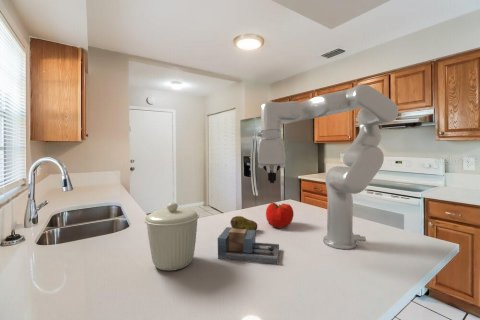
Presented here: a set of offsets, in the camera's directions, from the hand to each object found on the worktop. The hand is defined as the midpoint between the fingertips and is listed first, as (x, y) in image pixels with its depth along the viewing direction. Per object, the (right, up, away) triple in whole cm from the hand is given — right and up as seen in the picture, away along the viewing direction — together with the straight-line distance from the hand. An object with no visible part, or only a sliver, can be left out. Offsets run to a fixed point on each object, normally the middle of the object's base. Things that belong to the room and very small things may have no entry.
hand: (272, 182), depth 90 cm
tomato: (+8, -25, +27) cm, 38 cm away
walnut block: (-13, -25, -3) cm, 28 cm away
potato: (-10, -26, +18) cm, 33 cm away
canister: (-35, -27, -10) cm, 46 cm away
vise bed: (-9, -26, -4) cm, 28 cm away
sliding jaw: (-5, -24, -5) cm, 25 cm away
